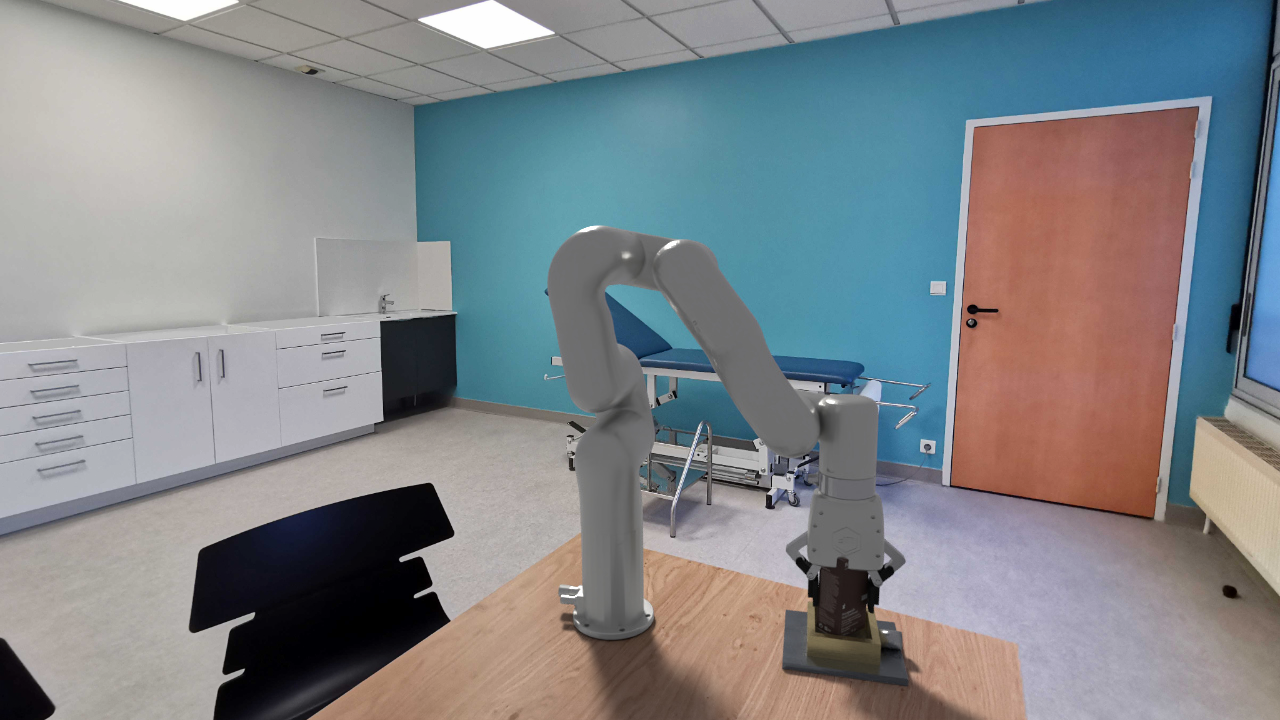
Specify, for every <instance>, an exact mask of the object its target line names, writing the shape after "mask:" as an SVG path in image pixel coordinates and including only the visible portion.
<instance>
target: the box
mask: <svg viewBox="0 0 1280 720" xmlns="http://www.w3.org/2000/svg"><path fill="white" fill-rule="evenodd" d="M848 562H849V560H848V559H846V558H839V557H838V558H837V563H836V567H835V568H829V567H821V569H820V570H819V572H818V578H819V586H818V606H817V621H816V627H817V628H818V629H819V630H820V631H822V632H824V633H825V634H832V635H840V636H848V635H850V634H852V633H854V632H856V631H859V630H861V629H864V628H865V620H866V608H867V591H868V578H869V576H870V575H869V573H868V571H859V570H850V569H848V565H849V564H848Z"/></svg>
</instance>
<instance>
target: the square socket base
mask: <svg viewBox="0 0 1280 720" xmlns="http://www.w3.org/2000/svg"><path fill="white" fill-rule="evenodd" d="M816 621H817V606H816V607H813V601H810V600H808V601H807V611H801V610H792V609H791V610H790V609H785V614H784V628H783V629H784V630H783V647H782V663H781V668H782V670H789V671H796V672H797V671H798V672H802V673H810V674H818V675H823V676H824V675H825V676H833V677H839V678H848V679H853V680H854V679H855V680H860V681H869V682H874V683H875V682H876V683H882V684H888V685H889V684H890V685H897V686H902V687H903V686H905V687H909V677H908V672H907V668H906V665H905V664H906V663H905V660H904V656H903V646H904V645H903V632H902V631H900V630H897V627H896V623H895V622H894V621H885V620H879V619H878V620H877V615H876V613H875V610H874V614H873V613H870V612H868V607H866V620H865V628H864V629H861V630H859V631H856V632H854V633H852V634H850V635H848V636H840V635H832V634H825V633H824V632H822V631H820V630H819V629H818V628H817V627H816Z"/></svg>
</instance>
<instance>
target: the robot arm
mask: <svg viewBox="0 0 1280 720" xmlns="http://www.w3.org/2000/svg"><path fill="white" fill-rule="evenodd" d="M546 282H547V284H546V286H547V294H548V301H549V305H550V310H551V314H552V318H553V322H554V323H553V324H554V326H555V331H556V337H557V338H556V339H557V345H558V349H559V353H560V358H561V363H562V368H563V372H564V378H565V383H566V386H567V387H566V388H567V391H568V395H569V397H570V399H571V402H573V405H575V406H576V407H577V408H578V409H580V410H581V411H583V412H585V413H590V414H594V415H595V421H596V422H594V423H593V424H592V425H591V426H590V427H588V428H587V429H586V430H585V431H584V433H583V434H582V435H581V437H580V438H579V440H578V441H577V445H576V447H575V451H574V452H575V453H574V469H575V470H574V471H575V475H576V476H575V477H576V481H577V487H578V495H579V513H580V516H579V517H580V538H581V541H580V542H581V545H580V546H581V548H580V549H581V579H582V581H581V584H579V585H578V586H575V585H571V584H570V585H569V584H562V583H561V584H560V585H559V587H558V592H557V593H558V597H560V598H559V603H560V604H561V605H573V607H574V609H573V611H572V622H573V625H574V626H575V627H576V629H577V630H578V632H581V633H582V634H584V635H585V636H589V637H591V638H594V639H597V640H598V639H599V640H606V641H607V640H608V641H609V640H610V641H611V640H612V641H616V640H623V639H629V638H632V637H635V636H638V635H639V634H642V633H643V632H645V631H646V630H648V629H649V628H650V626H652V623H653V622H654V619H655V618H654V617H655V611H654V608H653V605H652V604H651V603H650V601H649V600H647V599H645V597H644V595H645V593H644V591H645V590H644V587H645V585H644V583H645V581H644V580H645V579H644V576H645V575H644V573H645V572H644V571H645V570H644V513H643V512H644V509H643V507H644V506H643V495H642V488H641V481H640V471H641V470H640V469H641V466H642V464H644V461H646V459H647V458H648V457H649V455H650V453H651V452H652V450H653V449H654V448H653V447H654V445H655V440H656V432H655V424H654V419H653V418H654V417H653V414H652V413H653V412H652V409H651V408H652V407H651V403H650V400H649V399H650V398H649V394H648V393H649V392H648V389H647V385H646V379H645V375H644V371H643V367H642V365H641V363H640V361H639V360H640V359H638V357H637V356H636V354H635V353H634V352H633V351H632V350H631V349H629V348H628V347H626V346H625V345H623V344H621V343H618V341H617V337H616V331H615V325H614V319H613V317H612V313H611V310H610V307H609V306H608V303H607V299H606V291H607V287H609V286H614V285H618V286H619V285H622V286H630V287H633V288H635V287H636V288H639V289H645V290H651V291H654V292H655V291H656V292H660V294H661V295H662V296H663V298H664V299H665V301H666V302H667V303H668V304H669V306H670V307H671V309H672V310H673V311H674V313H675V314H676V315H677V317H678V318H679V320H680V321H681V322H682V324H683V325H684V326H685V328H686V329H687V330H688V331H689V333H690V334H691V336H692V337H693V339H694V340H695V342H696V343H697V344H698V345H699V347H700V348H701V350H702V351H703V352H704V354H705V355H706V357H707V358H708V361H709V362H710V364H711V367H712V368H713V370H714V372H715V373H716V375H717V377H718V378H719V380H720V381H721V384H722V385H723V387H724V389H725V390H726V392H727V394H728V395H729V397H730V398H731V401H732V402H733V404H734V405H735V406H736V408H737V410H738V411H739V412H740V414H741V415H742V417H743V418H744V420H745V421H746V422H747V423H748V425H749V426H750V428H752V431H753V432H754V433H755V434H756V436H757V437H758V439H759V440H760V441H761V442H762V443H763V445H764V446H766V448H767V449H768V450H770V452H772V453H774V454H776V455H777V456H779V457H783V458H787V459H796V458H801V457H803V456H805V455H807V454H809V453H810V452H812V450H813V449H814V448H815V446H816V445H817V443H818V444H819V452H818V453H819V455H818V456H819V457H818V458H819V461H818V471H816V473H815V472H813V473H808V474H807V483H808V484H812V485H814V486H816V488H815V489H814V490H813V493H812V495H811V496H812V497H811V499H810V500H811V501H810V505H809V513H808V522H807V530H806V531H804V532H803V533H801V534H800V535H799V536H797V537H796V538H795V539H792V541H790V542H789V543H787V544H786V546H785V552H786V554H787V555H788V556H789V557H790V559H792V561H793V562H794V563H795V565H796V567H798V568H799V570H801V572H803V574H804V575H805V576H806V578H807V598H809V599H812V602H813V607H816V606H818V587H819V570H820V569H821V567H829V568H835V567H836V563H837V558H838V557H839V558H846V559H848V560H849V562H848V564H849V565H848V569H850V570H859V571H868V573H869V578H868V591H867V606H866V608H868V612H870V613H873V614H874V611H875V606H880V593H881V592H880V590H881V589H880V588H881V587H882V586H883V583H884V582H885V581H887V580H888V579H890V578H891V577H892V576H894V574H895V572H897V571H898V570H900V568H902V567H903V566H904V565H905V564H906V563H907V561H906V560H907V559H906V558H905V556H904V554H902V553H901V551H899V550H898V549H897V548H895V546H893V544H891V543H890V541H889V540H887V539H886V538H885V520H884V519H885V517H884V508H883V502H882V497H880V495H879V493H877V492H876V487H877V486H876V485H877V458H878V438H879V436H878V433H879V415H880V414H879V407H878V404H877V402H876V401H875V400H874V399H873V398H871V397H869V396H865V395H861V394H854V393H853V394H852V393H851V394H849V393H840V394H838V393H837V394H825V393H816V392H811V391H806V390H800V389H795V388H794V387H793V386H792V384H791V383H790V381H789V380H788V379H787V377H786V376H785V375H784V373H783V371H782V370H781V368H780V366H779V365H778V363H777V362H776V361H775V358H774V356H773V355H772V353H771V351H770V348H769V347H768V343H767V342H766V338H765V335H764V333H763V330H762V328H761V326H760V324H759V322H758V320H757V318H756V317H755V315H754V314H753V312H751V310H750V309H749V308H748V306H747V304H746V303H745V302H744V301H743V300H742V298H741V297H740V296H739V294H738V293H737V291H735V289H734V287H733V286H732V285H731V283H730V282H729V280H728V279H727V278H726V276H725V275H724V273H723V272H722V271H721V269H720V268H719V264H718V260H717V257H716V255H715V253H714V252H713V251H712V249H711V248H709V246H707V245H706V244H704V243H702V242H700V241H696V240H692V239H686V238H683V239H678V238H677V239H676V238H671V237H665V236H660V235H656V234H655V235H653V234H648V233H643V232H639V231H633V230H628V229H623V228H618V227H614V226H610V225H593V226H588V227H585V228H582V229H580V230H578V231H576V232H575V233H573V234H572V235H570V236H569V237H568V238H567V239H566V240H565V241H564V242H563V243H562V244H561V245H560V246H559V248H558V249H557V251H555V253H554V255H553V257H552V259H551V262H550V264H549V268H548V271H547V281H546ZM804 547H806V555H807V556H806V557H807V558H806V557H805V556H804V555H803V554H802V553H801V551H800V550H802V548H803V549H804ZM885 554H886V555H887V556H888V557H889V558H890V559H889V560H888V561H887V562H885Z"/></svg>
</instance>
